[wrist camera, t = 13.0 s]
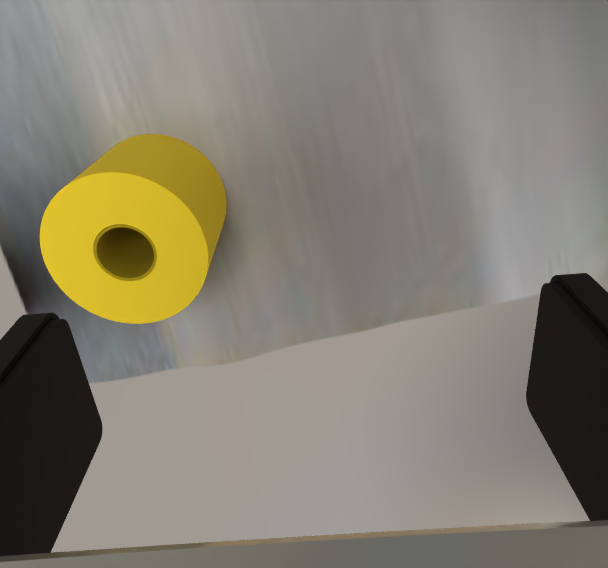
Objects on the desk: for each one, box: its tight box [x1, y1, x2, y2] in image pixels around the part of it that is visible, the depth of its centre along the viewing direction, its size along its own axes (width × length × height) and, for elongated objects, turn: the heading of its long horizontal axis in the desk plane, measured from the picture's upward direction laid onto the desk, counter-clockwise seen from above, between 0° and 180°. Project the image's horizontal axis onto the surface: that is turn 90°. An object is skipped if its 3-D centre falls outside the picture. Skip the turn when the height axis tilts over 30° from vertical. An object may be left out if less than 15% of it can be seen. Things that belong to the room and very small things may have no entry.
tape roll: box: [40, 134, 227, 324], centre depth 37 cm, size 10×10×9 cm
